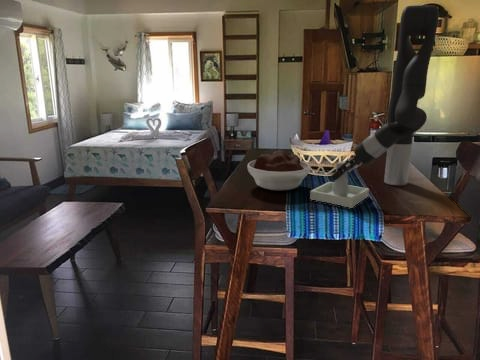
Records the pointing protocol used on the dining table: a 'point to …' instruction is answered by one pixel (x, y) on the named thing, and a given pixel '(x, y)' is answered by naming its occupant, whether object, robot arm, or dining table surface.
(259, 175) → the white bowl of pudding
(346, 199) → the tray
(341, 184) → the salt shaker
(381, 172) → the dining table surface
